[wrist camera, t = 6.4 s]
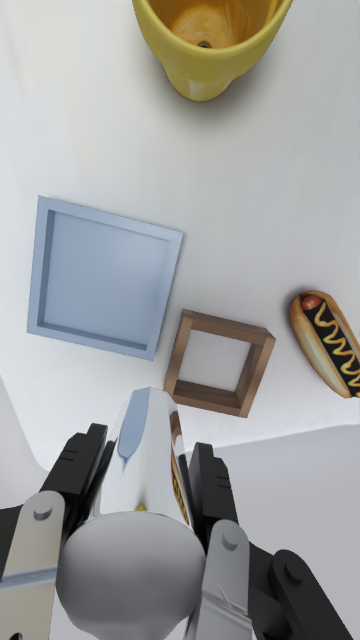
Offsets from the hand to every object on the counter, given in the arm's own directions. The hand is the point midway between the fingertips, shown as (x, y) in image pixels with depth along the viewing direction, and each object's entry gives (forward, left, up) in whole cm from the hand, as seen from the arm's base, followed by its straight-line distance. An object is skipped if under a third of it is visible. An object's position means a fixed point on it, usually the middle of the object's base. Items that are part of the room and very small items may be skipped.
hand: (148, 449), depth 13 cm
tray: (-3, -8, -19) cm, 21 cm away
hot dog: (-3, +18, -20) cm, 26 cm away
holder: (+3, +6, -19) cm, 20 cm away
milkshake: (0, 0, -3) cm, 3 cm away
